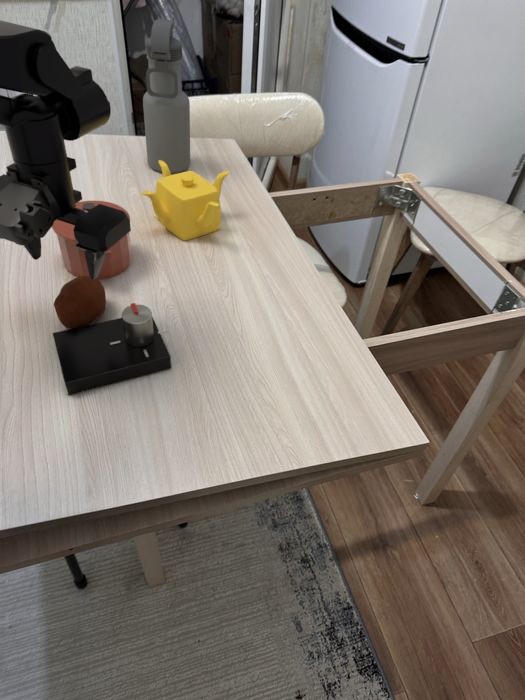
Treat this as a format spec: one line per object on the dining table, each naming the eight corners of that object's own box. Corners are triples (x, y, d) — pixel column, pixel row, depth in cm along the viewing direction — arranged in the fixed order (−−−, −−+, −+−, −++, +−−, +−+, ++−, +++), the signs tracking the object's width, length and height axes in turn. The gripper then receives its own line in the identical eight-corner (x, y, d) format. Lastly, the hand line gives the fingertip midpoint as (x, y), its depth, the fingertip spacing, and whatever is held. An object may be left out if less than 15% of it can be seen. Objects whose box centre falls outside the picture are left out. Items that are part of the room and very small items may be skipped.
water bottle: (187, 177, 109) (185, 33, 90) (144, 173, 109) (132, 27, 89) (192, 157, 117) (191, 20, 97) (151, 153, 116) (141, 14, 96)
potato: (44, 325, 72) (34, 291, 68) (87, 292, 79) (80, 259, 74) (81, 342, 71) (73, 309, 66) (122, 307, 77) (117, 274, 72)
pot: (73, 294, 78) (64, 256, 73) (55, 239, 88) (46, 201, 83) (143, 281, 82) (139, 243, 77) (119, 229, 92) (114, 193, 87)
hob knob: (157, 343, 68) (155, 318, 65) (129, 350, 67) (125, 324, 64) (149, 325, 71) (146, 300, 67) (121, 331, 69) (118, 306, 66)
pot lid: (59, 252, 74) (54, 231, 72) (46, 211, 82) (41, 192, 79) (139, 239, 79) (137, 219, 76) (120, 202, 86) (118, 183, 84)
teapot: (161, 200, 101) (158, 154, 94) (228, 209, 101) (230, 164, 94) (142, 238, 91) (138, 190, 84) (217, 248, 91) (218, 201, 84)
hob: (68, 395, 64) (64, 382, 62) (56, 345, 70) (52, 331, 68) (178, 366, 69) (178, 353, 67) (158, 322, 75) (157, 309, 73)
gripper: (-86, 159, 51) (-37, 279, 62) (63, 206, 47) (87, 324, 58) (-8, 126, 59) (24, 238, 70) (126, 164, 55) (138, 276, 66)
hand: (65, 267), depth 66 cm, fingers open, 9 cm apart
